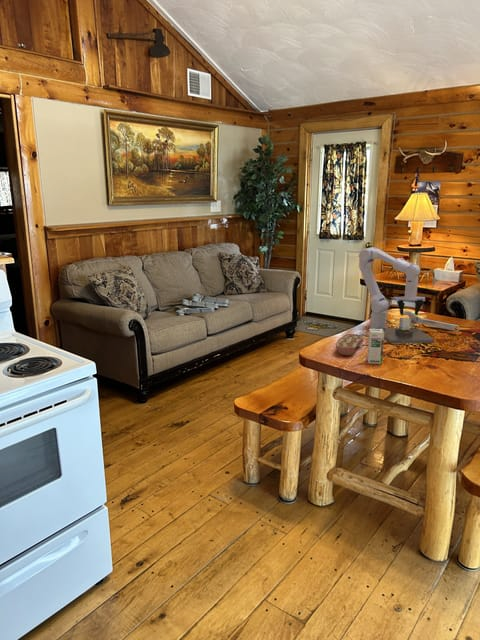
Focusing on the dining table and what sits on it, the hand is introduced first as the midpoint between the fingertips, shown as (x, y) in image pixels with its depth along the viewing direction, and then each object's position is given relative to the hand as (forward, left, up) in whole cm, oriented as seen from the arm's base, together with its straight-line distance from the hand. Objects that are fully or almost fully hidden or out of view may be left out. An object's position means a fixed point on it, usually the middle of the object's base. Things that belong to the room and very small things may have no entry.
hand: (408, 314), depth 250 cm
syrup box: (+40, -30, -11) cm, 51 cm away
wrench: (-11, +17, -11) cm, 23 cm away
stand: (+4, -3, -10) cm, 12 cm away
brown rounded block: (+24, -37, -11) cm, 46 cm away
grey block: (+4, -3, -6) cm, 8 cm away
